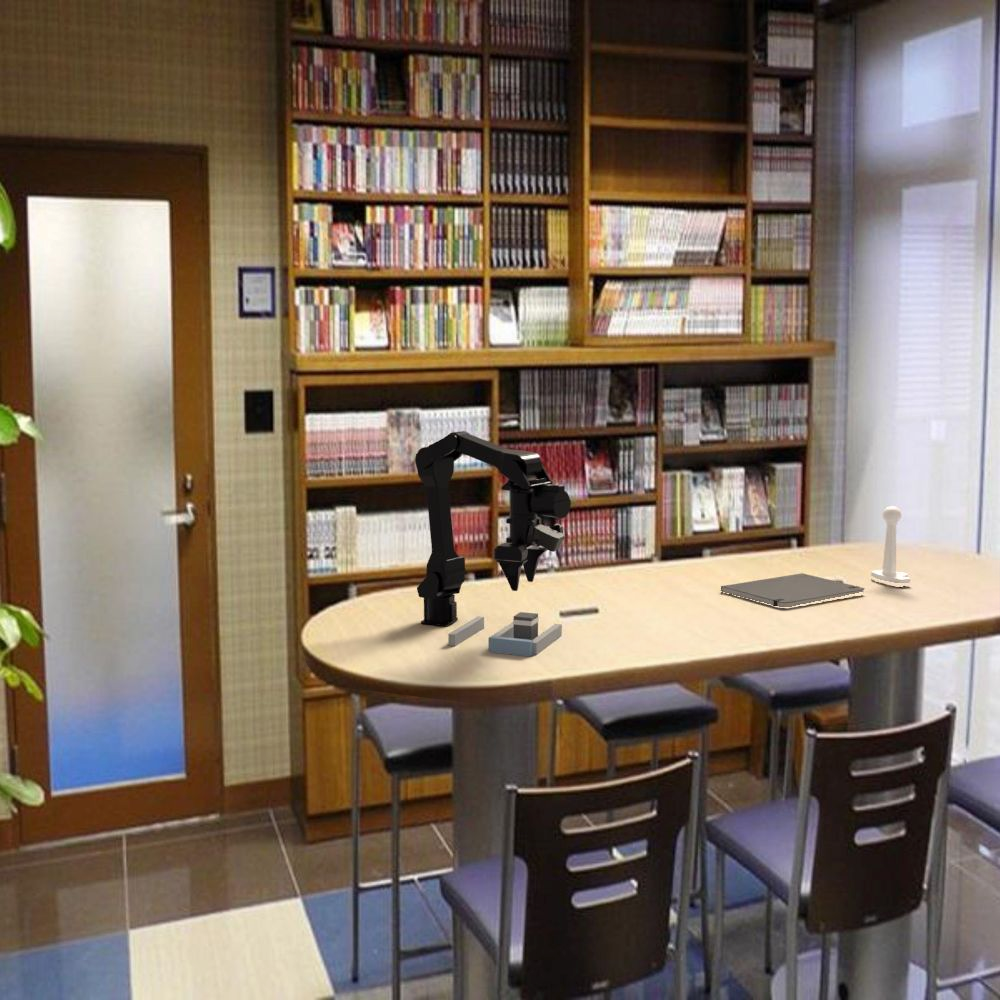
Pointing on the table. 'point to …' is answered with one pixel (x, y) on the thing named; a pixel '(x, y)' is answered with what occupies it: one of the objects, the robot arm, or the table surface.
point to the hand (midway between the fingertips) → (522, 586)
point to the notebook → (791, 590)
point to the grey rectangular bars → (506, 638)
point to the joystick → (891, 550)
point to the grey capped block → (525, 625)
